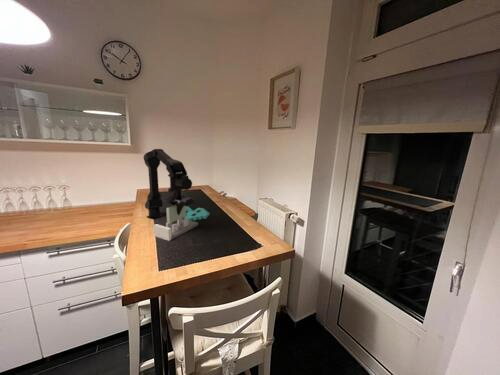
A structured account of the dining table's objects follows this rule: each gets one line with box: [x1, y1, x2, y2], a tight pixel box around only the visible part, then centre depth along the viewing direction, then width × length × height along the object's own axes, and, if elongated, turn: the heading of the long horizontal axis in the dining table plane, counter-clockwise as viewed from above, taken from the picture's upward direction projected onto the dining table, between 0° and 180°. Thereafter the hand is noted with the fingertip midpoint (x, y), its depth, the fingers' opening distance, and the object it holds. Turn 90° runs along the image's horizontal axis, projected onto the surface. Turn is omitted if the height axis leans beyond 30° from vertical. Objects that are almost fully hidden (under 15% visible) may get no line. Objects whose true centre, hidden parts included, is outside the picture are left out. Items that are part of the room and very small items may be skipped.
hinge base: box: [153, 217, 199, 242], centre depth 113 cm, size 10×22×6 cm, turn 155°
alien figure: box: [183, 205, 210, 222], centre depth 136 cm, size 20×2×20 cm
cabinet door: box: [165, 205, 187, 224], centre depth 111 cm, size 3×12×8 cm, turn 155°
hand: (177, 214), depth 112 cm, fingers closed on cabinet door, 2 cm apart
